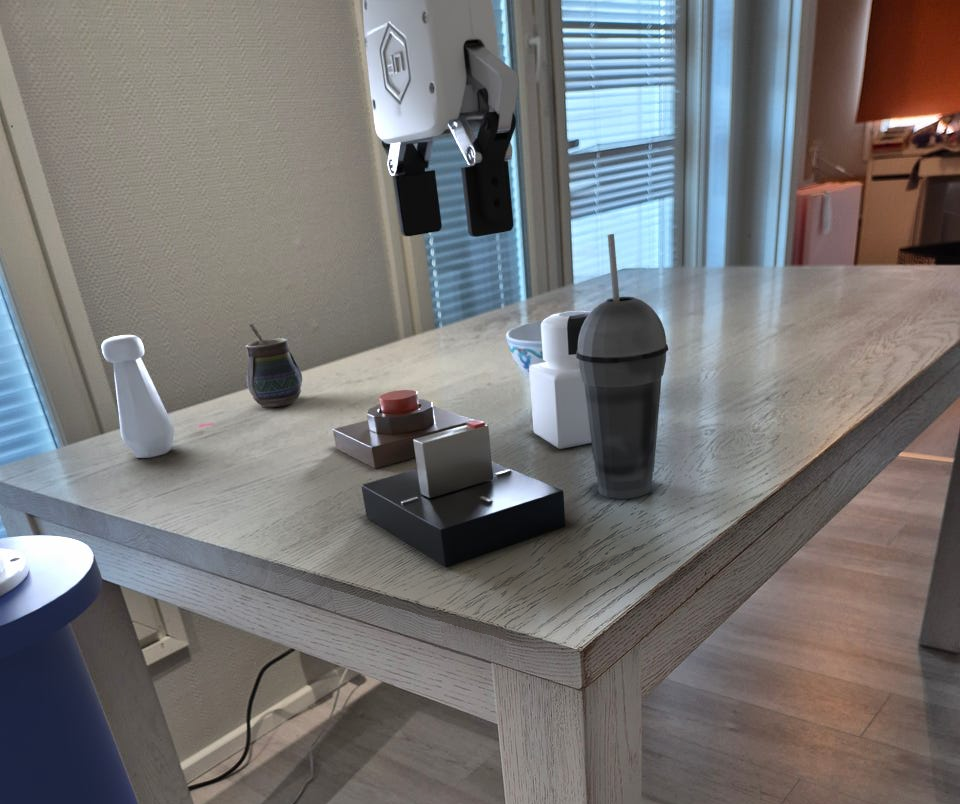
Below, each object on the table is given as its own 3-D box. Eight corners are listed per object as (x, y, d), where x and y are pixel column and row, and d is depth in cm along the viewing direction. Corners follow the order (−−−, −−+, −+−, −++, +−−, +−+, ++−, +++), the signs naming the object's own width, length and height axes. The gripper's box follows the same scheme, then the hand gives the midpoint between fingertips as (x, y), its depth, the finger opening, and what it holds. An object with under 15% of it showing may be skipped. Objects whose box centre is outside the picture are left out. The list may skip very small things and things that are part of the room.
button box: (375, 468, 86) (368, 429, 84) (336, 448, 94) (329, 412, 92) (476, 440, 91) (472, 402, 89) (431, 423, 99) (427, 388, 97)
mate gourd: (272, 413, 112) (255, 332, 107) (240, 407, 116) (221, 330, 111) (316, 399, 116) (301, 321, 111) (283, 394, 121) (267, 319, 116)
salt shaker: (185, 450, 100) (152, 334, 93) (135, 463, 97) (98, 344, 91) (170, 441, 104) (138, 329, 98) (122, 453, 101) (86, 339, 95)
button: (391, 419, 89) (389, 401, 88) (375, 412, 92) (372, 395, 91) (426, 410, 90) (423, 393, 89) (408, 404, 93) (406, 387, 92)
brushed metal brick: (430, 498, 68) (421, 440, 66) (420, 494, 69) (412, 436, 67) (493, 479, 70) (488, 422, 68) (483, 475, 72) (477, 418, 69)
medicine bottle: (594, 421, 93) (589, 304, 87) (623, 437, 87) (621, 312, 81) (532, 433, 91) (523, 314, 86) (558, 450, 85) (551, 324, 80)
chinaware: (552, 376, 113) (548, 314, 110) (657, 382, 105) (657, 315, 101) (487, 406, 103) (480, 340, 99) (598, 415, 95) (595, 343, 91)
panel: (445, 567, 64) (440, 527, 62) (366, 517, 74) (360, 482, 73) (565, 526, 68) (563, 488, 67) (474, 485, 79) (471, 451, 77)
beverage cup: (610, 511, 70) (601, 242, 60) (567, 487, 76) (553, 239, 66) (685, 491, 72) (688, 228, 62) (637, 469, 78) (634, 226, 68)
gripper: (307, -42, 57) (355, 241, 65) (430, -126, 44) (471, 243, 52) (407, -44, 60) (441, 226, 68) (551, -124, 47) (572, 225, 55)
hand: (454, 233), depth 60 cm, fingers open, 9 cm apart
